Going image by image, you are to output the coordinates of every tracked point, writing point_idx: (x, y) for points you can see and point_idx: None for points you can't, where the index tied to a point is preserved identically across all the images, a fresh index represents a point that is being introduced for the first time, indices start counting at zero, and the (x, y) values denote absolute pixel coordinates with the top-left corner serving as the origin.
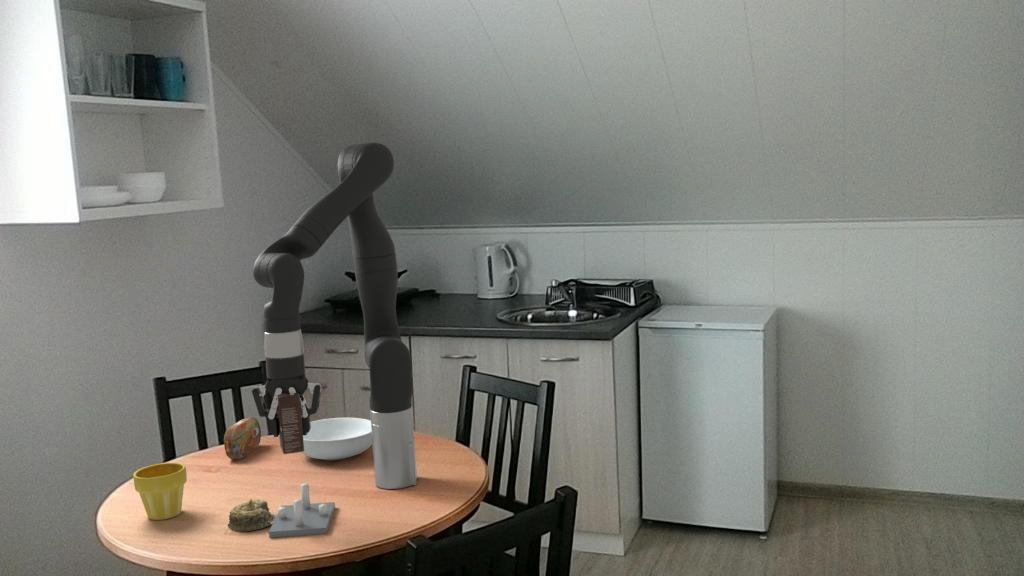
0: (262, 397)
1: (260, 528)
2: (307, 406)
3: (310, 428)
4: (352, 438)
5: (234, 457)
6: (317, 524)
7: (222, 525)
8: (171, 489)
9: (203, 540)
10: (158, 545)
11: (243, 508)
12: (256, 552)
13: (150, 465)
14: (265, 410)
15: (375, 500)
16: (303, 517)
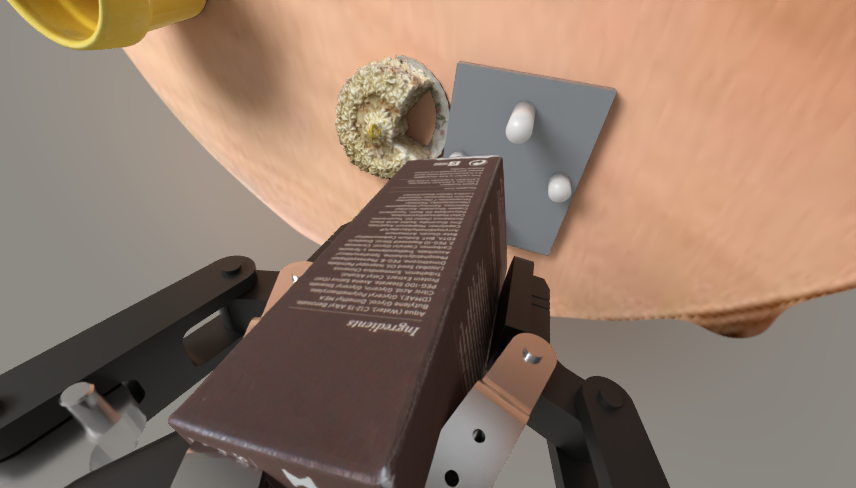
0: (137, 374)
1: None
2: (537, 397)
3: (546, 292)
4: None
5: None
6: (533, 232)
7: (333, 110)
8: (145, 34)
9: (319, 178)
10: (252, 168)
11: (361, 120)
12: None
13: None
14: (246, 326)
15: (774, 66)
16: (508, 178)
